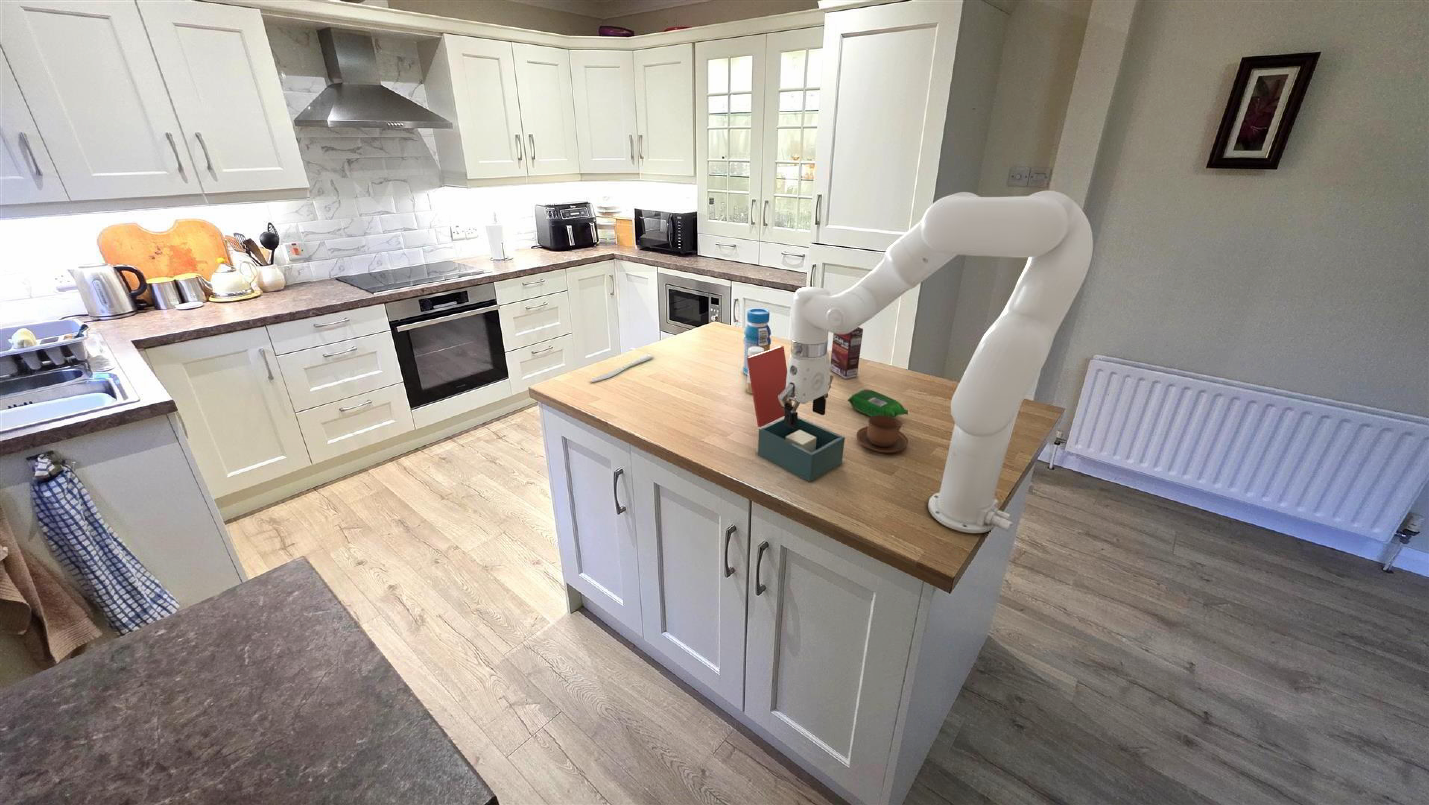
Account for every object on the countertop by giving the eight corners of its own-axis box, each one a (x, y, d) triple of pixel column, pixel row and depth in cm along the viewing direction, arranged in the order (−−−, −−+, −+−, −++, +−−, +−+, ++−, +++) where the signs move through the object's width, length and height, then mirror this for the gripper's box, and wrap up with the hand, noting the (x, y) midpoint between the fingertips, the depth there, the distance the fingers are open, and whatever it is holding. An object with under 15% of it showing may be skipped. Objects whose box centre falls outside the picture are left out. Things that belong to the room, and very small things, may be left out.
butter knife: (656, 356, 185) (649, 354, 186) (595, 383, 165) (588, 380, 167) (656, 358, 185) (649, 355, 186) (595, 384, 166) (588, 381, 167)
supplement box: (828, 369, 176) (833, 322, 169) (841, 367, 178) (846, 320, 171) (845, 379, 169) (851, 330, 162) (857, 377, 171) (864, 328, 164)
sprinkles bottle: (764, 390, 162) (766, 347, 156) (759, 396, 158) (761, 352, 152) (749, 387, 164) (751, 344, 158) (744, 393, 160) (745, 349, 154)
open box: (841, 463, 126) (845, 437, 123) (809, 482, 119) (812, 455, 116) (790, 438, 136) (791, 413, 133) (757, 454, 129) (758, 428, 126)
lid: (783, 345, 129) (781, 345, 129) (749, 357, 122) (746, 357, 122) (793, 412, 133) (790, 411, 133) (760, 427, 126) (757, 427, 126)
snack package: (890, 429, 140) (893, 411, 138) (844, 407, 152) (846, 389, 150) (907, 422, 144) (911, 404, 142) (861, 400, 156) (864, 384, 153)
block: (814, 456, 127) (816, 437, 125) (800, 463, 124) (802, 444, 122) (798, 448, 130) (799, 429, 128) (784, 455, 127) (785, 436, 125)
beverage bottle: (739, 375, 172) (741, 313, 163) (746, 366, 179) (748, 306, 170) (766, 378, 170) (769, 316, 161) (771, 369, 177) (775, 308, 168)
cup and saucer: (868, 427, 141) (871, 406, 138) (914, 442, 134) (918, 420, 132) (847, 446, 133) (850, 423, 130) (894, 462, 126) (898, 439, 123)
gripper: (796, 362, 108) (792, 438, 115) (848, 342, 118) (842, 413, 125) (767, 352, 113) (766, 426, 120) (820, 334, 123) (815, 403, 130)
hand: (804, 419), depth 123 cm, fingers open, 9 cm apart
